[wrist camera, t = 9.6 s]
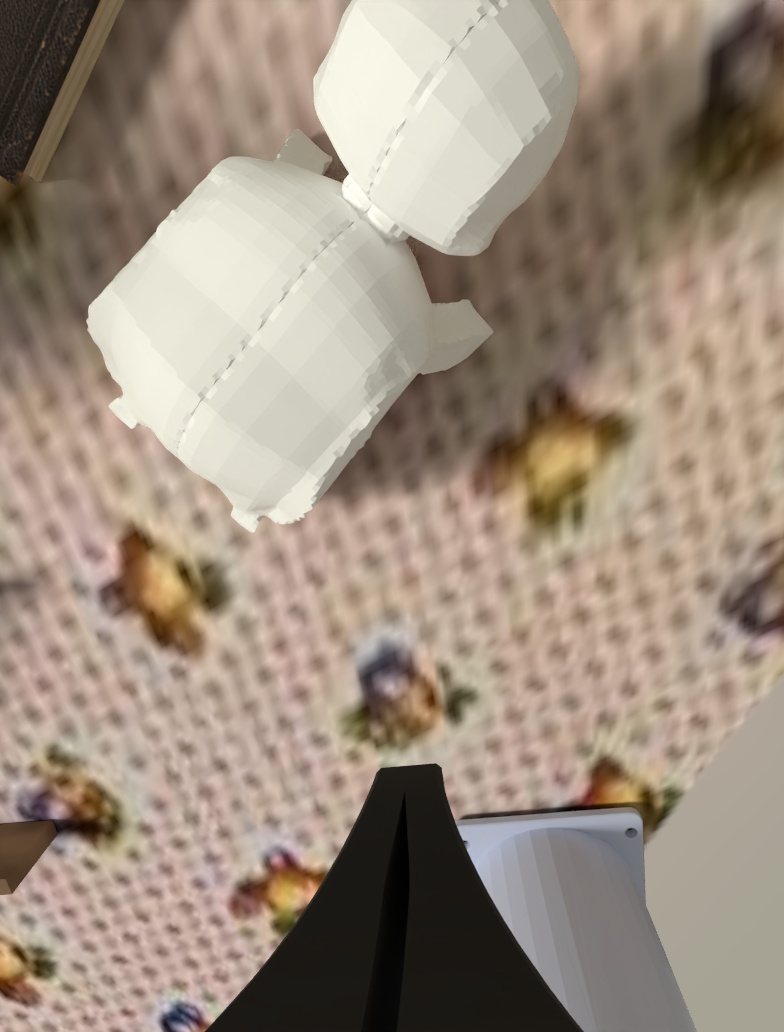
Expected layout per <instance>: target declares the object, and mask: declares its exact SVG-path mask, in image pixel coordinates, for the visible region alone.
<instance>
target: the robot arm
mask: <svg viewBox="0 0 784 1032" xmlns="http://www.w3.org/2000/svg"><path fill="white" fill-rule="evenodd" d="M629 828H633V829H631V830H627V829H629ZM463 840H465V841H467V842H463ZM205 1032H697V1031H696V1028H695V1026H694V1023H693V1021H692V1018H691V1016H690V1014H689V1011H688V1009H687V1006H686V1004H685V1001H684V999H683V996H682V994H681V991H680V989H679V986H678V984H677V981H676V979H675V976H674V974H673V972H672V969H671V967H670V964H669V962H668V959H667V957H666V954H665V952H664V949H663V947H662V945H661V942H660V939H659V937H658V935H657V932H656V930H655V927H654V925H653V922H652V920H651V917H650V915H649V912H648V910H647V908H646V903H645V873H644V842H643V820H642V817H641V815H640V813H639V812H638V811H637V809H635V808H632V807H622V808H609V809H596V810H583V811H570V812H557V813H544V814H531V815H518V816H505V817H492V818H479V819H466V820H458V821H455V820H454V818H453V815H452V812H451V809H450V806H449V803H448V800H447V797H446V793H445V788H444V782H443V775H442V768H441V767H440V766H439V765H437V764H436V763H435V764H424V765H412V766H400V767H389V768H381V769H380V770H379V771H378V772H377V773H376V776H375V779H374V781H373V784H372V786H371V789H370V791H369V794H368V796H367V798H366V801H365V803H364V805H363V807H362V809H361V812H360V814H359V816H358V818H357V820H356V822H355V824H354V826H353V828H352V830H351V832H350V834H349V836H348V838H347V840H346V842H345V844H344V846H343V847H342V849H341V851H340V853H339V855H338V857H337V858H336V860H335V862H334V863H333V865H332V867H331V869H330V870H329V872H328V874H327V875H326V877H325V879H324V881H323V882H322V884H321V886H320V887H319V889H318V890H317V892H316V893H315V895H314V897H313V898H312V900H311V901H310V903H309V904H308V906H307V907H306V909H305V910H304V912H303V913H302V915H301V916H300V917H299V919H298V920H297V922H296V923H295V925H294V926H293V928H292V929H291V930H290V932H289V933H288V934H287V936H286V937H285V938H284V940H283V941H282V942H281V943H280V945H279V946H278V947H277V949H276V950H275V951H274V953H273V954H272V955H271V957H270V958H269V959H268V960H267V962H266V963H265V964H264V965H263V967H262V968H261V969H260V970H259V972H258V973H257V974H256V975H255V976H254V978H253V979H252V980H251V981H250V982H249V983H248V984H247V986H246V987H245V988H244V989H243V990H242V991H241V992H240V993H239V995H238V996H237V997H236V998H235V999H234V1000H233V1001H232V1002H231V1003H230V1005H229V1006H228V1007H227V1008H226V1009H225V1010H224V1011H223V1012H222V1014H221V1015H220V1016H219V1017H218V1018H217V1019H216V1020H215V1021H214V1022H213V1023H212V1025H211V1026H210V1027H209V1028H208V1029H207V1030H206V1031H205Z"/></svg>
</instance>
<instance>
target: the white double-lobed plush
mask: <svg viewBox="0 0 784 1032" xmlns="http://www.w3.org/2000/svg"><path fill="white" fill-rule="evenodd" d="M579 78H580V71H579V65H578V63H577V60H576V58H575V55H574V53H573V50H572V48H571V45H570V43H569V40H568V38H567V35H566V33H565V31H564V28H563V26H562V24H561V22H560V20H559V18H558V16H557V14H556V12H555V11H554V9H553V8H552V6H551V4H550V3H549V1H548V0H352V1H351V3H350V4H349V6H348V7H347V9H346V11H345V12H344V14H343V16H342V19H341V22H340V25H339V28H338V31H337V34H336V37H335V40H334V42H333V44H332V46H331V48H330V50H329V52H328V54H327V56H326V57H325V59H324V61H323V62H322V64H321V65H320V67H319V70H318V72H317V73H316V75H315V77H314V78H313V87H314V106H315V109H316V113H317V115H318V118H319V120H320V122H321V123H322V125H323V127H324V129H325V131H326V133H327V135H328V137H329V139H330V141H331V143H332V145H333V146H334V148H335V150H336V152H337V154H338V156H339V158H340V160H341V162H342V163H343V165H344V166H345V168H346V169H347V171H348V173H349V174H348V176H347V177H346V178H345V179H344V182H343V184H342V183H341V182H339V181H336V180H333V179H331V178H328V177H325V176H323V175H324V174H325V172H326V170H327V169H328V167H329V166H330V164H331V162H332V157H331V156H329V155H328V154H326V153H325V152H323V151H322V150H321V149H320V148H319V147H318V146H317V145H316V144H315V143H314V142H312V141H311V140H310V139H309V138H308V137H307V136H306V135H305V134H304V133H303V132H302V131H301V130H299V129H295V130H294V131H292V132H291V134H290V135H289V137H288V139H287V141H286V143H285V144H284V145H283V147H282V148H281V149H280V151H279V153H278V156H277V158H276V159H275V160H274V161H268V160H262V159H258V158H251V157H228V158H227V159H224V160H222V161H220V162H219V164H218V165H216V166H215V167H214V168H213V169H212V170H211V172H210V173H209V174H208V176H207V177H206V178H205V179H204V180H203V181H202V182H200V183H199V184H198V185H197V186H196V187H195V189H194V190H193V192H192V193H191V194H190V195H189V196H188V197H187V198H186V199H185V200H184V201H183V202H182V203H181V204H180V205H179V206H178V208H177V209H175V210H172V211H171V213H170V214H169V216H168V217H167V218H166V219H165V220H164V221H163V222H162V223H161V224H160V225H159V226H158V227H157V231H156V232H155V233H154V234H153V235H152V237H151V238H150V239H149V240H148V241H147V243H146V244H145V245H144V246H143V248H142V249H141V250H140V251H139V252H138V253H136V254H135V255H134V256H133V257H132V259H131V261H130V262H129V263H128V264H127V265H126V266H125V267H123V269H122V270H121V271H120V272H119V273H118V274H117V275H116V277H115V278H114V279H113V281H112V282H111V283H110V284H109V285H108V286H107V287H106V288H105V289H104V290H103V292H102V293H101V294H100V295H99V296H98V297H97V298H96V299H95V300H94V301H93V302H92V303H91V304H90V305H89V309H88V314H89V318H88V319H87V320H86V322H87V324H88V329H87V330H88V332H89V333H90V335H91V337H92V339H93V341H94V342H95V343H96V344H97V345H98V347H99V348H100V350H101V352H102V354H103V358H104V361H105V364H106V367H107V369H108V371H109V372H110V373H111V376H112V378H113V379H114V380H115V381H116V382H117V383H118V384H119V385H120V386H121V387H122V391H123V395H122V397H118V398H116V399H115V400H114V401H113V402H111V404H110V405H109V406H108V407H109V408H110V409H111V410H112V411H113V412H114V413H115V415H116V416H117V417H118V418H119V419H120V420H122V421H123V422H124V423H125V424H126V425H127V426H128V427H130V428H131V429H133V428H135V427H137V426H140V425H143V426H146V427H148V428H150V429H151V430H152V431H153V432H154V434H155V435H156V436H157V438H158V439H159V440H160V441H161V443H162V444H163V445H164V446H165V448H166V449H168V450H169V451H170V452H171V453H173V454H174V455H175V456H176V457H177V458H179V459H180V460H181V461H182V462H183V463H184V464H185V465H186V466H187V467H188V468H189V469H190V470H191V471H193V472H195V473H196V474H198V475H200V476H201V477H203V478H205V479H207V480H208V481H210V482H212V483H213V484H215V485H217V486H218V487H219V488H220V489H221V490H222V491H223V493H224V494H225V495H226V496H227V498H228V499H229V500H230V502H231V504H232V505H233V506H234V507H233V510H232V513H231V517H233V518H234V519H235V520H236V521H237V522H238V523H239V524H240V525H242V526H243V527H244V528H246V529H247V530H249V531H250V532H252V533H254V531H255V530H256V528H257V526H258V524H259V521H260V519H261V518H263V517H265V516H268V517H269V518H270V519H272V520H273V521H274V522H275V523H278V524H290V523H294V522H296V521H297V520H299V521H301V520H302V518H303V517H306V515H307V514H308V513H309V512H310V510H311V509H313V507H314V506H315V505H316V504H317V503H318V501H319V500H320V499H321V498H322V497H323V495H324V494H325V493H326V491H327V490H328V488H329V487H330V486H331V485H332V484H333V482H334V481H335V480H336V478H337V477H338V476H339V474H340V473H341V472H342V470H343V469H344V468H345V466H346V465H347V464H348V462H349V461H350V460H351V459H352V458H353V457H354V456H355V455H356V453H357V451H358V450H359V449H360V448H362V447H364V445H365V441H367V440H368V439H369V438H371V435H372V431H373V430H374V428H375V427H376V426H377V424H378V423H379V422H380V420H381V419H382V418H383V416H384V415H385V414H386V412H387V411H388V410H389V408H390V407H391V406H392V404H393V403H394V402H395V401H396V399H397V398H398V397H399V396H400V395H401V394H402V392H403V391H404V390H405V389H406V387H407V386H408V385H409V384H410V383H411V382H412V380H413V379H414V378H415V377H416V375H417V374H418V373H421V374H423V375H424V374H428V373H434V372H439V371H441V370H443V371H445V370H447V369H449V368H451V367H453V366H455V365H457V364H458V363H460V362H462V361H463V360H464V359H466V358H468V357H469V356H470V355H471V354H472V353H473V352H474V351H475V350H476V349H477V348H478V347H479V346H480V345H481V344H482V343H483V342H484V341H485V340H486V339H487V338H489V337H490V336H491V335H492V333H493V330H492V329H491V327H490V326H489V325H488V324H487V323H486V322H485V321H484V320H483V318H482V317H481V316H480V315H479V314H478V313H477V311H476V310H475V309H474V308H473V306H472V304H471V302H470V300H464V299H462V300H461V301H459V302H450V303H448V304H446V303H433V304H432V302H431V300H430V297H429V295H428V292H427V289H426V286H425V283H424V281H423V278H422V275H421V272H420V269H419V266H418V264H417V261H416V259H415V257H414V255H413V253H412V251H411V250H410V248H409V246H408V244H407V243H406V241H405V240H406V239H407V238H408V237H409V236H412V237H414V238H416V239H418V240H419V241H421V242H423V243H425V244H427V245H429V246H431V247H432V248H434V249H436V250H438V251H440V252H442V253H445V254H447V255H457V256H475V255H478V254H480V253H481V252H482V251H484V250H485V249H486V248H488V247H489V245H490V243H491V241H492V239H493V237H494V234H495V232H496V231H497V230H498V228H499V227H500V225H501V224H502V223H503V221H504V220H505V219H506V218H507V217H508V216H509V215H510V214H511V213H512V212H513V211H514V210H515V209H516V208H517V207H519V206H520V205H521V204H522V203H524V202H525V201H526V200H527V199H528V198H529V197H530V195H531V194H532V193H533V192H534V190H535V189H536V188H537V187H538V185H539V184H540V183H541V181H542V180H543V179H544V177H545V176H546V174H547V173H548V171H549V170H550V168H551V166H552V164H553V162H554V160H555V159H556V157H557V156H558V154H559V152H560V150H561V149H562V147H563V144H564V141H565V138H566V135H567V131H568V128H569V125H570V121H571V118H572V115H573V112H574V109H575V106H576V102H577V96H578V87H579Z"/></svg>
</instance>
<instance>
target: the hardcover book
mask: <svg viewBox="0 0 784 1032" xmlns="http://www.w3.org/2000/svg"><path fill="white" fill-rule="evenodd" d="M123 2H124V0H0V175H1V176H2V177H3V178H5V179H6V180H7V181H9V182H10V183H12V184H14V185H16V186H18V184H19V182H20V180H21V177H22V175H28V176H29V177H30V178H32V179H33V180H35V181H36V182H40V183H41V182H42V180H43V178H44V175H45V173H46V171H47V169H48V167H49V164H50V162H51V160H52V158H53V156H54V153H55V151H56V149H57V147H58V145H59V143H60V140H61V138H62V136H63V134H64V132H65V129H66V127H67V125H68V123H69V121H70V118H71V116H72V114H73V112H74V110H75V107H76V105H77V103H78V101H79V99H80V97H81V94H82V92H83V90H84V88H85V86H86V83H87V81H88V79H89V77H90V75H91V72H92V70H93V68H94V66H95V64H96V62H97V59H98V57H99V55H100V53H101V51H102V48H103V46H104V44H105V42H106V40H107V37H108V35H109V33H110V31H111V29H112V26H113V24H114V22H115V20H116V18H117V16H118V13H119V11H120V9H121V7H122V5H123Z"/></svg>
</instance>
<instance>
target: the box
mask: <svg viewBox="0 0 784 1032" xmlns="http://www.w3.org/2000/svg"><path fill="white" fill-rule="evenodd" d="M56 836H57V831H56V828H55V826H54V823H53V820H46V821H34V822H22V823H10V824H0V895H7V894H12V893H13V892H14V891H15V889H16V888H17V887H18V885H19V884H20V883H21V882H22V880H23V879H24V878H25V876H26V875H27V874H28V872H29V871H30V870H31V868H32V867H33V866H34V864H35V863H36V862H37V861H38V859H39V858H40V857H41V855H42V854H43V853H44V851H45V850H46V849H47V847H48V846H49V845H50V843H51V842H52V841H53V840H54V838H55V837H56Z"/></svg>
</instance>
